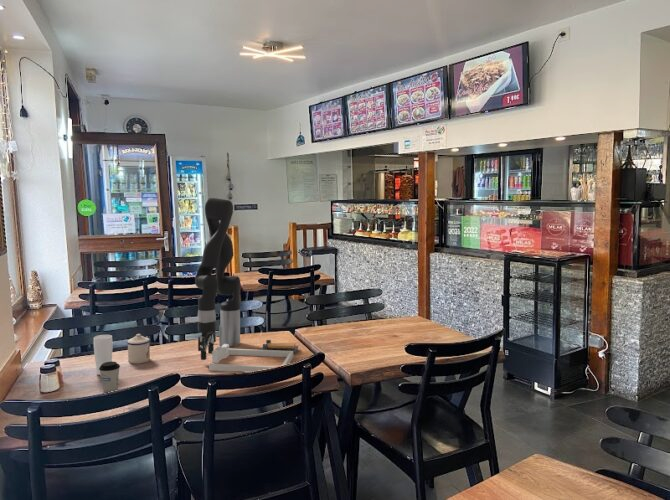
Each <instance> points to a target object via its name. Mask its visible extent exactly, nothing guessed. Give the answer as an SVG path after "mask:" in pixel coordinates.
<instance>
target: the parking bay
mask: <svg viewBox="0 0 670 500" xmlns="http://www.w3.org/2000/svg"><path fill="white" fill-rule="evenodd" d="M230 355H231V356H233V355H234V356H253V357H272V358H273V357H276V358H279V357H280V358H285V359H284V361H283V362H282V365H285V364H288V363H289V364H290V363H291V361H292V360H293V358H294V355H293V351H279V350H261V349H256V348H255V349H250V348H230V347H229V355H228V356H230ZM282 365H281V366H282ZM273 367H276V366H274V365H273V366H272V365H269V366H268V365H251V364H250V365H249V364H248V365H247V364H231V363H230V364H228V363H225V364H224V363H209V364H208V370H209V371H211V372H212V371H213V372H214V371H215V372H219V371H220V372H231V371H258V370H263V369H269V368H273Z"/></svg>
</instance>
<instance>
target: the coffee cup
mask: <svg viewBox="0 0 670 500" xmlns="http://www.w3.org/2000/svg"><path fill="white" fill-rule="evenodd" d="M120 368H121V365H120V364H119V363H118V362H116V361H113V360H112V362H105V363H103V364H102V365H101V366H100V367H99V370H100V374H101V375H100V380H101V385H102V391H103V393H106V392H111V391H115V390H117V391H118V385H119V377H120V376H119V375H120ZM115 392H116V391H115ZM111 393H112V392H111ZM106 394H107V393H106Z"/></svg>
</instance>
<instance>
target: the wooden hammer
mask: <svg viewBox="0 0 670 500" xmlns="http://www.w3.org/2000/svg"><path fill="white" fill-rule="evenodd" d="M267 344H268V348H294V347H295V346H297V344H296V342H271V343H267Z"/></svg>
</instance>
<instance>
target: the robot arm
mask: <svg viewBox="0 0 670 500" xmlns="http://www.w3.org/2000/svg"><path fill="white" fill-rule="evenodd" d="M204 213H205V218H206V221H207V222H206V223H207V227H208V231H209V236H210V239H208V241H207V242H206V244H205V246H204V248H203V254H202V259H201V263H200V265H199V267H198V269H197V271H196V274H195V277H194V283H195V286H196V287H197V288H198V289H199V290H202V295H200V296H199V297H198V299H197V304H198V305H197V307H198V309H197V310H198V311H197V331H198V332H199V333H201V335H200V336H198V338H197V343H198V344H197V351H198V352H200V360H203V361H205V360H206V359H207V353H208V354H211V355H212V351H214V350H215V349H214V348H215V347H214V346H215V343H216V341H217V338H216V336H217V335H216V334H217V333H216V330H217V316H216V315H217V313H216V296H217V294H218V295H220V296H232V298H231V299H228V300H226V301H223V302H221V303H220V305H219V306H220V307H219V308H220V309H219V311H220V317H219V318H220V325H219V326H218V336H219V337H218V339H219V341H218V343H219V346H222V345H224V344H229V347H236V346H239V345H240V344H241V300H240V299H241V279H240V277H239V276H237V275H236V276H234V275H230V276H229V275H224V274H225V270H226V269H227V267H228V266H229V264H230V263H231V262H232V259H233V258H234V247H233V246H234V245H233V242H232V240H231V237H230V236H229V234H227V232H228V229H229V226H230V224H231V220H232V218H233V213H234V205H233V202H232V201H231V200H228V199H222V198H215V197H210V198H207V200H206V201H205V203H204ZM213 270H215V275H214V274H212V272H213ZM207 350H208V351H207Z"/></svg>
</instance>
